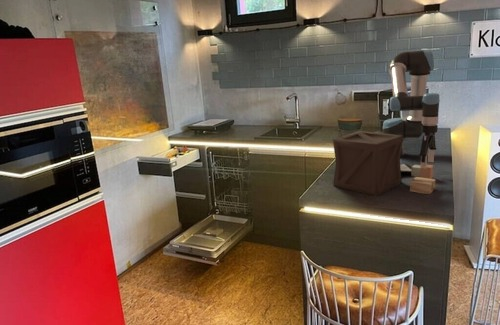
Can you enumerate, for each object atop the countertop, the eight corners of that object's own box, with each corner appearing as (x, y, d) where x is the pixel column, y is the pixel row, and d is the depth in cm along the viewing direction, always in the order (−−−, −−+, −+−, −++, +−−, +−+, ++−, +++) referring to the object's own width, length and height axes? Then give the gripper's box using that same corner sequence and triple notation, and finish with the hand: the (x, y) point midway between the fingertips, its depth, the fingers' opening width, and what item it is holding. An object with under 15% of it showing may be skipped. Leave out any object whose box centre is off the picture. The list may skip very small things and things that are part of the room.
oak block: (415, 186, 191) (415, 176, 190) (434, 189, 185) (435, 179, 184) (409, 191, 184) (410, 181, 183) (429, 194, 179) (430, 184, 177)
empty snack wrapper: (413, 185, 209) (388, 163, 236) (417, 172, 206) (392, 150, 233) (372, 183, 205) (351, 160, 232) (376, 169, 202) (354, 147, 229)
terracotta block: (422, 176, 203) (423, 164, 201) (432, 178, 200) (433, 165, 198) (419, 179, 200) (420, 166, 198) (430, 180, 197) (430, 167, 195)
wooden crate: (359, 174, 215) (358, 130, 208) (402, 182, 197) (403, 134, 190) (333, 186, 199) (332, 139, 192) (377, 196, 181) (378, 144, 174)
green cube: (413, 173, 210) (414, 164, 208) (423, 174, 207) (424, 165, 205) (411, 175, 206) (411, 167, 204) (421, 177, 203) (421, 168, 201)
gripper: (428, 120, 204) (426, 158, 209) (414, 128, 185) (412, 170, 191) (443, 120, 199) (441, 160, 205) (430, 129, 181) (428, 172, 186)
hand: (427, 165), depth 198 cm, fingers open, 13 cm apart
